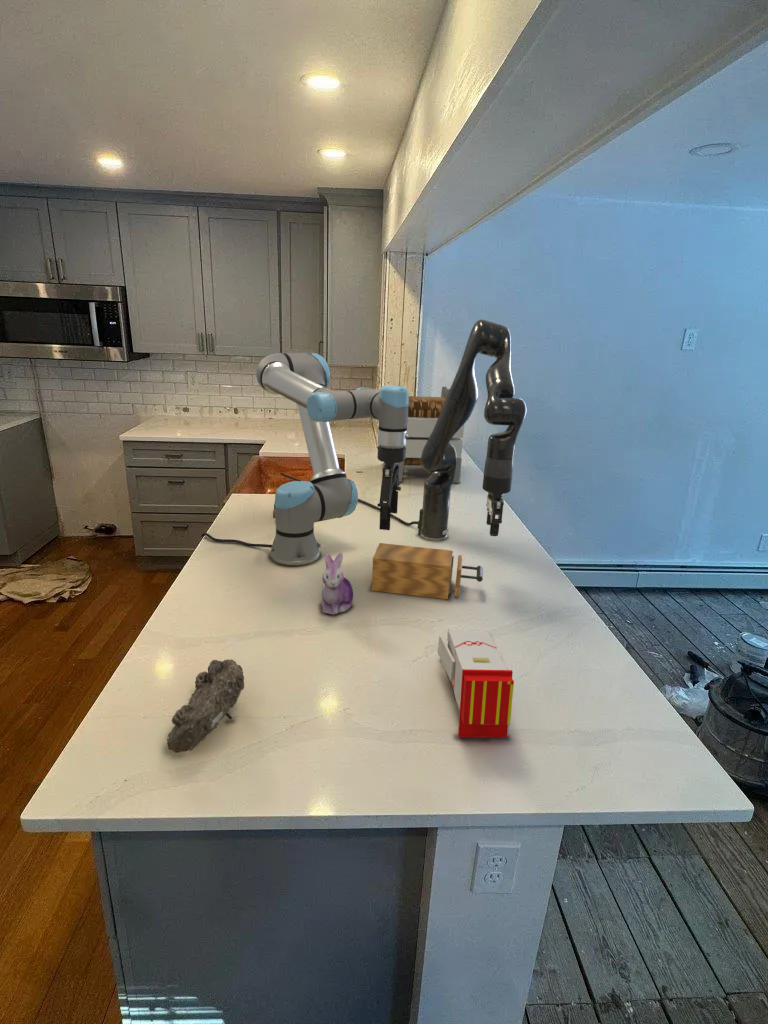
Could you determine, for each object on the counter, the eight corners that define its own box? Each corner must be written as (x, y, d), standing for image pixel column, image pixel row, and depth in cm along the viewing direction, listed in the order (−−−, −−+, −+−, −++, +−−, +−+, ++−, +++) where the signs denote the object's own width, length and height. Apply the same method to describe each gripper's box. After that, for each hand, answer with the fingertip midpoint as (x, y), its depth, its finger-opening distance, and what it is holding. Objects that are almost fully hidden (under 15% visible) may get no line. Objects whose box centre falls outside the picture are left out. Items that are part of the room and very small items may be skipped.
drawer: (480, 583, 164) (483, 557, 161) (480, 599, 155) (483, 572, 152) (391, 573, 168) (392, 547, 165) (386, 588, 159) (387, 561, 156)
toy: (488, 613, 130) (523, 677, 101) (484, 667, 133) (517, 744, 104) (435, 612, 130) (455, 676, 101) (432, 666, 133) (451, 743, 103)
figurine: (327, 619, 143) (328, 565, 138) (313, 601, 152) (313, 549, 147) (361, 611, 147) (363, 559, 142) (345, 594, 156) (346, 544, 151)
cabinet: (450, 581, 166) (453, 550, 163) (447, 599, 156) (450, 566, 153) (378, 573, 169) (379, 542, 166) (371, 590, 159) (372, 557, 156)
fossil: (192, 660, 117) (244, 628, 112) (224, 691, 120) (276, 661, 115) (142, 746, 98) (202, 712, 93) (182, 779, 101) (242, 748, 96)
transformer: (382, 463, 289) (386, 382, 275) (445, 464, 293) (451, 384, 279) (390, 482, 257) (394, 392, 243) (460, 483, 261) (468, 394, 247)
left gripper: (399, 457, 138) (395, 538, 145) (411, 437, 161) (407, 507, 168) (369, 455, 139) (366, 535, 146) (385, 435, 162) (382, 505, 169)
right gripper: (516, 481, 144) (509, 540, 149) (508, 467, 157) (502, 521, 163) (486, 479, 144) (480, 538, 150) (481, 465, 158) (476, 520, 163)
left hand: (388, 520), depth 157 cm, fingers open, 13 cm apart
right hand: (491, 529), depth 156 cm, fingers open, 8 cm apart
